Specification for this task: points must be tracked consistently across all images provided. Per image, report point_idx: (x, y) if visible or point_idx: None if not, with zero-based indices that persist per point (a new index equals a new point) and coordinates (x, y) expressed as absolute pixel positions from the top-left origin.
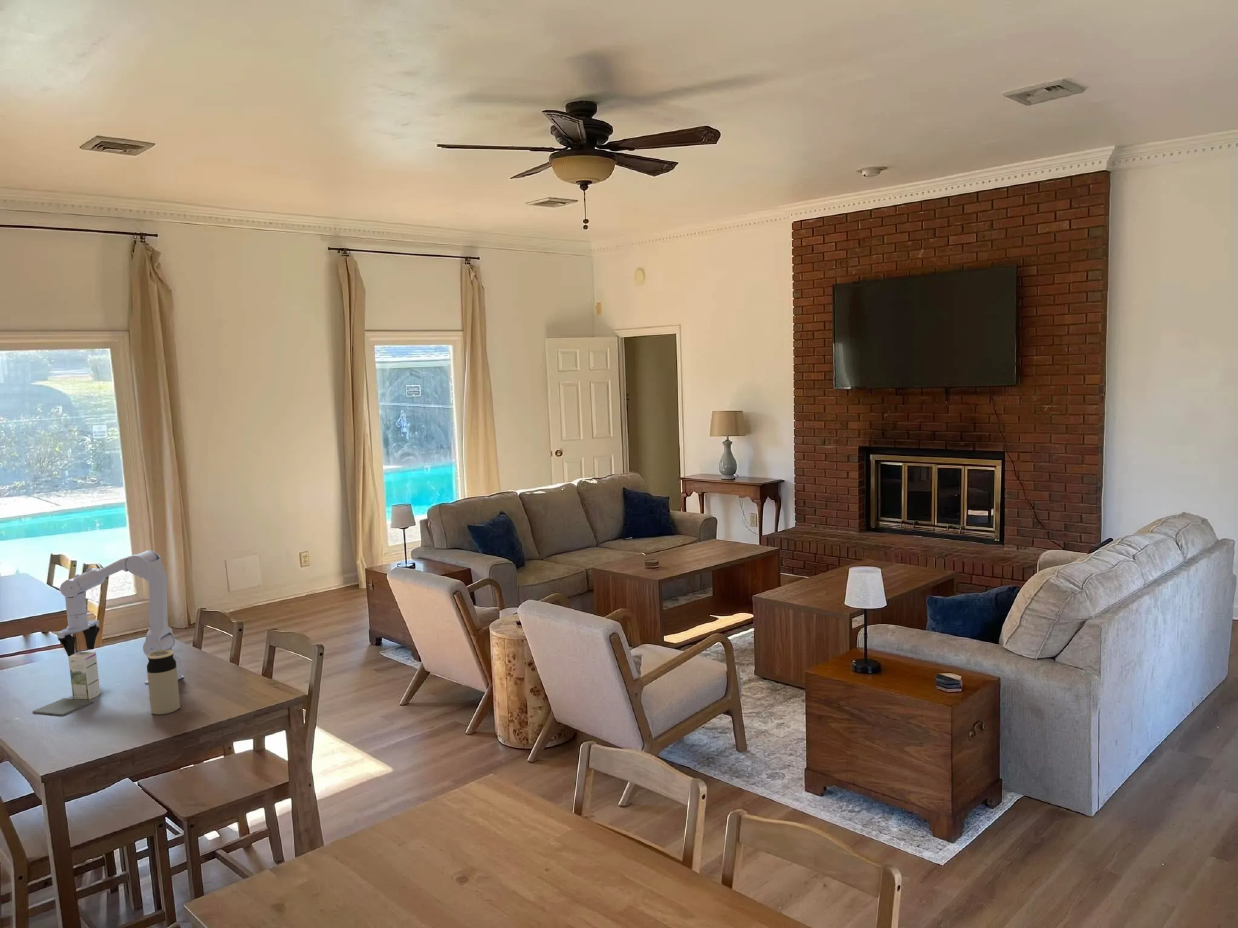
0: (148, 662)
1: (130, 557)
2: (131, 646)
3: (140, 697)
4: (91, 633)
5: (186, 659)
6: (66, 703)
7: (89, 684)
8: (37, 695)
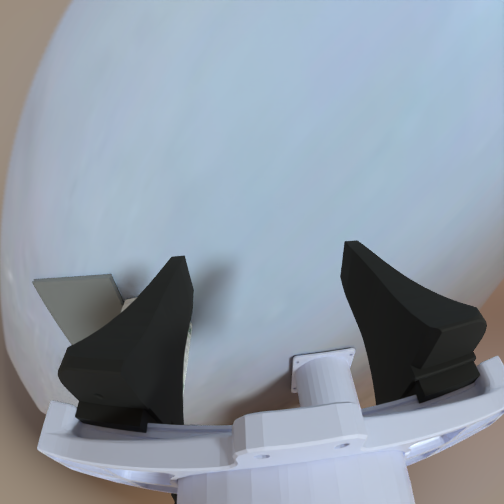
0: (176, 500)
1: None
2: None
3: (217, 394)
4: (380, 376)
5: (463, 301)
6: (98, 315)
7: None
8: (82, 145)
